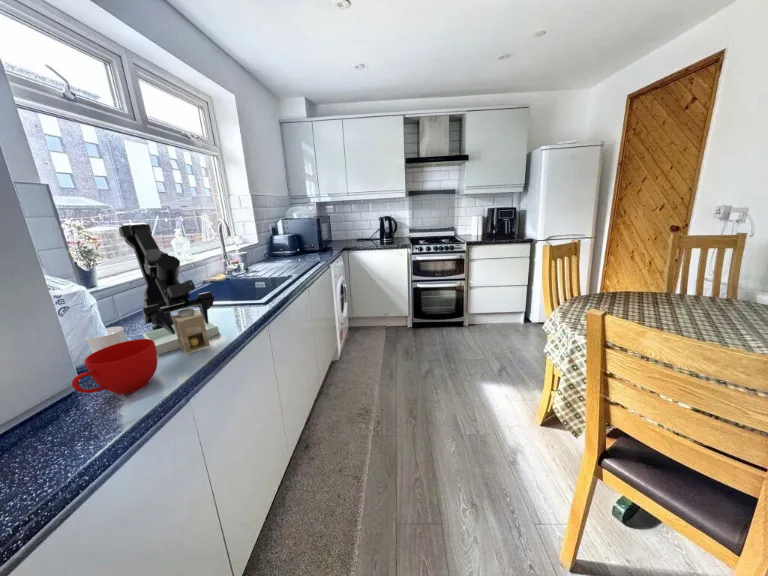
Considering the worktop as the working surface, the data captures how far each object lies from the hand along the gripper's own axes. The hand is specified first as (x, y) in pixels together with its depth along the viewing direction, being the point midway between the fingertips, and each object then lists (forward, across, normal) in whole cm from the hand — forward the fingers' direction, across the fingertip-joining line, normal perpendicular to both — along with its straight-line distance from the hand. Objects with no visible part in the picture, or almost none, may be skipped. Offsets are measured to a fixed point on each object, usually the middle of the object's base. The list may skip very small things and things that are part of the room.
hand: (191, 328), depth 92 cm
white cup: (-3, -18, +12) cm, 22 cm away
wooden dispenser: (+4, 0, +6) cm, 7 cm away
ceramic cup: (+13, -19, -3) cm, 23 cm away
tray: (-5, 0, +14) cm, 15 cm away
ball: (+2, 0, +4) cm, 5 cm away
